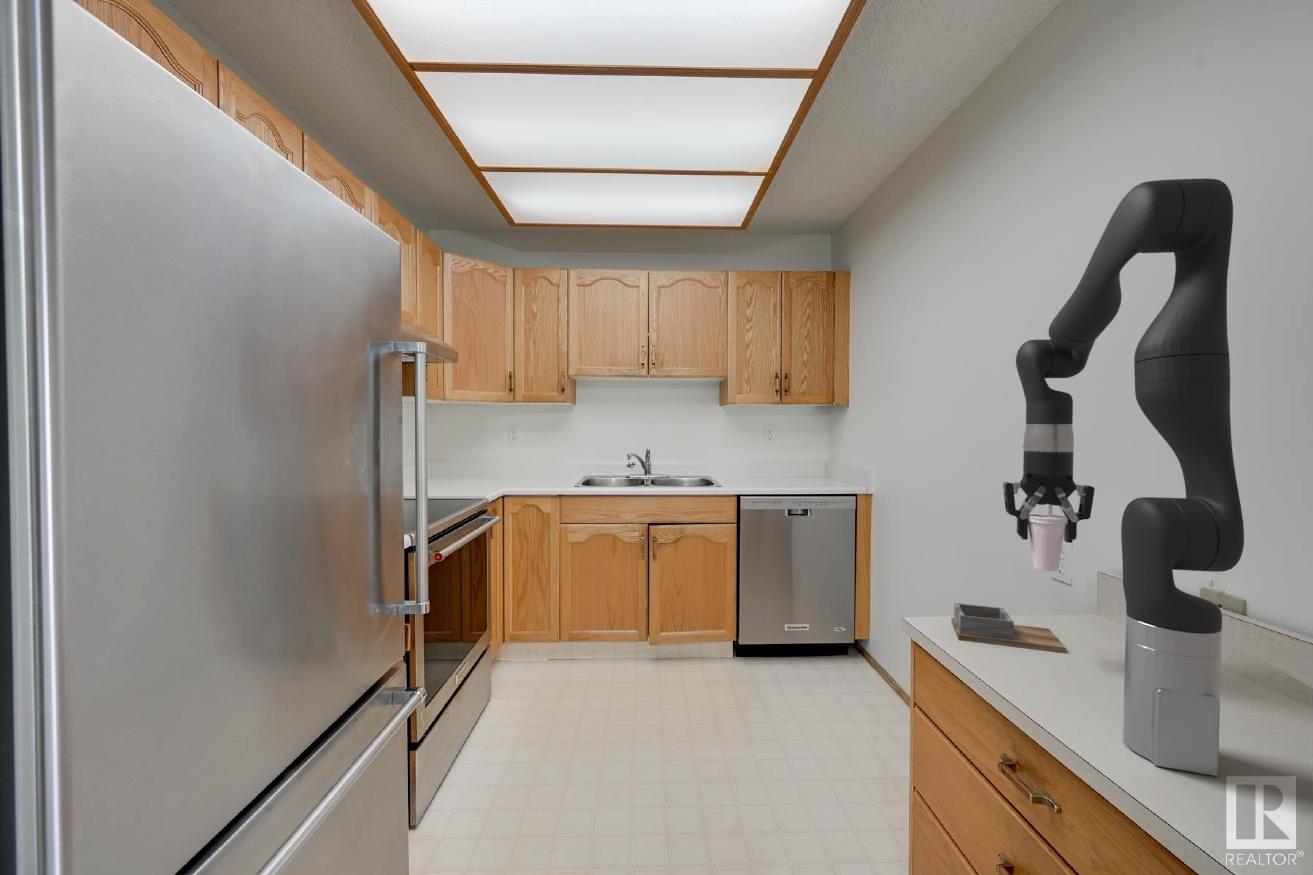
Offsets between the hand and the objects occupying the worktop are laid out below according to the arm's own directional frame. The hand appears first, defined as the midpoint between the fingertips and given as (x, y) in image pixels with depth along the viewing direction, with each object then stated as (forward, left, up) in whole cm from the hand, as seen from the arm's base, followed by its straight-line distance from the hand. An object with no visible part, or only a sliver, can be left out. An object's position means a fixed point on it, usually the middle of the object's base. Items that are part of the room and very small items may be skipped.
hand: (1046, 540), depth 104 cm
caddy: (+10, +4, -22) cm, 24 cm away
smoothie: (0, 0, -5) cm, 5 cm away
